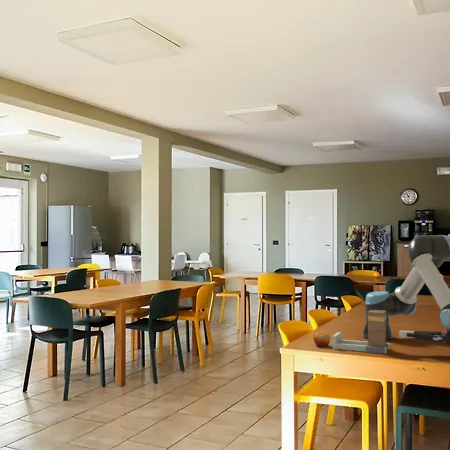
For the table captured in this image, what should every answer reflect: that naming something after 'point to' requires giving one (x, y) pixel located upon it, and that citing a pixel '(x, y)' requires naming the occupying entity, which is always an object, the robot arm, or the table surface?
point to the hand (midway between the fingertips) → (399, 333)
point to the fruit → (321, 338)
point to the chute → (357, 345)
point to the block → (377, 328)
